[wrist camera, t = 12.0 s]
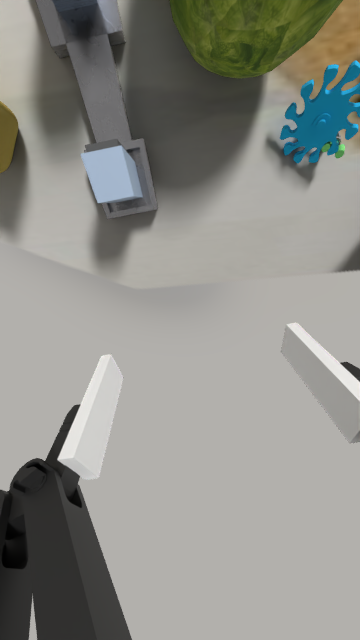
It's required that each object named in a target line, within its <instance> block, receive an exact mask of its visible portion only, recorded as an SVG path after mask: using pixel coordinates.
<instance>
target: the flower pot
mask: <svg viewBox="0 0 360 640" xmlns="http://www.w3.org/2000/svg"><path fill="white" fill-rule="evenodd" d="M17 133H18V122H17V119H16V117H15V115H14V114H13V113H12V111H11V110H10V109H9V108H8V107H7V106H6V105H5V104H3V103H2V102H1V101H0V173H2V172H4V171H5V170H6V169H7V168H8V167H9V165H10V163H11V161H12V157H13V151H14V147H15V142H16V137H17Z"/></svg>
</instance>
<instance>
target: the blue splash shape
mask: <svg viewBox="0 0 360 640" xmlns="http://www.w3.org/2000/svg"><path fill="white" fill-rule="evenodd" d="M338 66H339V65H336V64H334V65H329V66H328V67H327V68H326V70H325V73H324V82H323V85H322V88H321V90H320V92H319V93H318V95H317V97H316V98H315V99H312V100H311V99H310V98H309V96H310V94H311V92H312V90H313V86H314V81H313V79H312V80H310V81H308V82H307V83H305V84H304V85H303V86H302V89H301V97H302V98H303V99H304V102H305V110H304V112H303V113H302V114H299V115H298V114H297V113H296V108H297V105H296V103H294V102H293V103H292V104H291V105H290V106H289V108H288V109H287V111H286V113H285V118H286V119H291V120H293V121H295V123H296V124H297V128H296V129H295V130H291V129H290V127H289V126H288V125H285V126H283V128H282V131H281V136H280V139H281V140H284V139H286V138H288V137H294V138H297V139H298V141H297V142H296V143H292V142H287V143H286V144H285V145H284V154H285V155H288V154H290V152H291V151H293V150H294V149H296V148H298V147H301V146H304V147H305V149H304V150H302V151H298V152H296V153H295V155H294V158H293V160H294V161H295V162H296V163H299V162H301V160H302V158H303V157H304V155H305V154H306V153H307V152H308V151H309V150H311V149H312V148H314V147H316V148H317V150H316V151H314V152H313V153H312V154H311V155H310V157H309V162H310V163H316V162H317V161H318V159H319V153H320V150H321V149H322V152H326V151H327V155H332V154H334V153H335V157H336V158H340V157H342V156H343V154H344V149H345V145H343V144H341V145H340V142H341V136H340V134H339V131H340V130H341V129H346V133H345V138H346V139H347V140H349V139H350V138H352V137H353V136H354V135H355V134H356V133H357V132H358V125H357V124H352V123H350V122H349V121H348V119H347V116H348V115H349V114H350V113H351V112H353V111H356V112H357V115H358V117H360V103H352V102H350V101H349V99H350V98H351V96H353V95H354V94H360V83H359V84H357V85H356V86H355V87H353V88H351V89H349V90H346V91H342V90H341V88H342V87H343V85H344V84H346V83H347V82H350V81H353V80H354V79H356V78H357V77H358V75H359V74H360V64H359V63H358V62H357V61H356V60H355V61H354V62H352V63H351V65H350V66H349V68H348V70H347V72H346V73H345V75H344V77H343V78H342V79H341V81H340V82H339V83H338V84H337V85H336V86H335V87H334V88H332V89H331V90H326V87H327V85H328V84H329V83H330V82H331V81H332V80H333V79H334V78H335V77H336V75H337V73H338Z"/></svg>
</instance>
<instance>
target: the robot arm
mask: <svg viewBox="0 0 360 640" xmlns="http://www.w3.org/2000/svg"><path fill="white" fill-rule="evenodd" d="M281 352H282V354H283V355H284V356H285V358H286V359H287V361H288V362H289V363H290V364H291V366H292V367H293V368H294V370H295V371H296V373H297V374H298V375H299V377H300V378H301V379H302V381H303V382H304V383H305V385H306V386H307V387H308V389H309V390H310V391H311V393H312V394H313V395H314V397H315V398H316V399H317V400H318V402H319V403H320V405H321V406H322V407H323V408H324V410H325V411H326V413H327V414H328V415H329V417H330V418H331V419H332V421H333V422H334V423H335V424H336V426H337V427H338V429H339V430H340V431H341V433H342V434H343V435H344V437H345V438H346V439H347V441H348V442H349V443H355V442H360V369H359V368H357V367H355V366H353V365H352V364H350V363H348V362H343V363H339V362H338V361H337V360H336V359H335V358H334V357H333V356H332V355H331V354H330V353H328V352H327V351H326V350H325V349H324V348H323V347H322V346H321V345H320V344H319V343H318V342H317V341H316V340H315V339H313V337H312V336H311V335H309V334H308V333H307V332H306V331H305V330H304V329H303V328H302V327H301V326H300V325H299V324H298V323H292V324H286V328H285V333H284V338H283V344H282V349H281ZM122 382H123V376H122V374H121V372H120V370H119V368H118V366H117V364H116V363H115V360H114V359H113V357H112V355H111V354H109V355H104V356H101V358H100V360H99V363H98V365H97V368H96V370H95V372H94V375H93V377H92V380H91V382H90V384H89V386H88V389H87V391H86V393H85V396H84V398H83V400H82V403H81V404H80V405H75V406H73V407H72V409H71V410H70V411H69V413H68V414H67V416H66V418H65V420H64V422H63V425H62V426H61V428H60V432H59V433H58V435H57V437H56V439H55V441H54V443H53V446H52V448H51V450H50V452H49V454H48V456H47V458H46V460H45V461H43V460H42V459H39V458H36V459H32V460H30V461H29V462H27V463H26V464H25V465H24V466H22V467H21V468H20V469H19V471H18V472H17V473H16V475H15V476H14V478H13V480H12V482H11V484H10V490H9V491H7V492H6V491H3V490H0V640H28V639H29V628H30V616H31V604H32V593H33V601H34V611H35V621H36V630H37V640H132V639H131V636H130V633H129V630H128V627H127V624H126V621H125V618H124V615H123V612H122V609H121V607H120V603H119V600H118V598H117V594H116V592H115V589H114V586H113V583H112V580H111V577H110V574H109V571H108V568H107V565H106V562H105V559H104V556H103V553H102V550H101V548H100V545H99V542H98V539H97V536H96V533H95V530H94V527H93V524H92V521H91V518H90V516H89V512H88V509H87V506H86V504H85V501H84V498H83V495H82V492H81V489H80V486H79V485H78V481H79V478H80V477H82V478H83V479H84V480H88V479H95V478H99V475H100V471H101V466H102V463H103V459H104V455H105V450H106V446H107V442H108V438H109V434H110V430H111V426H112V422H113V417H114V414H115V410H116V406H117V401H118V398H119V394H120V390H121V386H122Z"/></svg>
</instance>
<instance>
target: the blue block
mask: <svg viewBox="0 0 360 640" xmlns="http://www.w3.org/2000/svg"><path fill="white" fill-rule="evenodd" d="M85 148H86V151H87V153H82V154H81V157H82V160H83V163H84V166H85V168H86V171H87V174H88V177H89V180H90V183H91V186H92V188H93V191H94V194H95V197H96V200H97V203H116V202H122V201H127V200H132V199H137V198H142V197H143V195H142V191H141V186H140V182H139V178H138V173H137V169H136V164H135V161H134V160H133V159H132V158H131V157H130V155H129V154H128V153H127V151H126V149H125V148H124V147H123V146H122V144H121V143H120V142H119V141H118V139H112V140H107V141H103V142H98V143H93V144H88V145H85Z"/></svg>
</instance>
